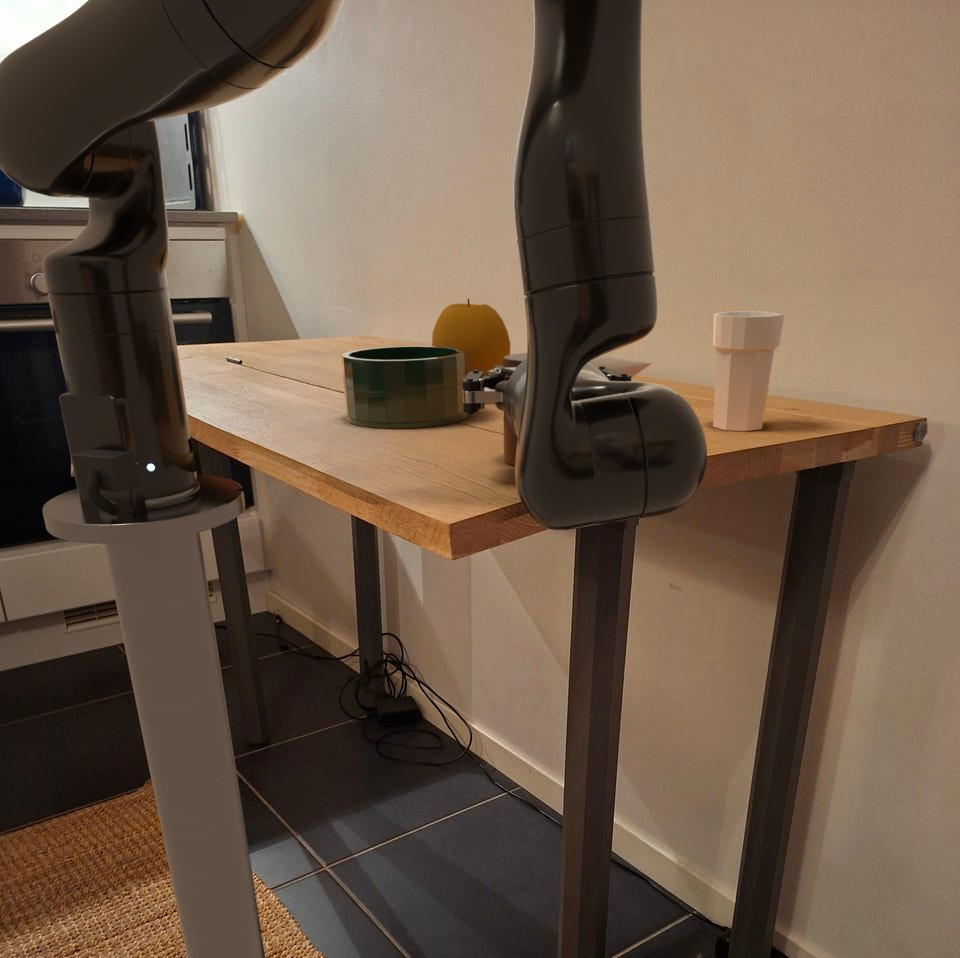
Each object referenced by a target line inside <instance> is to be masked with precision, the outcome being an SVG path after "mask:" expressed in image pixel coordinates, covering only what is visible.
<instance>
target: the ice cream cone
mask: <svg viewBox="0 0 960 958" xmlns="http://www.w3.org/2000/svg"><path fill="white" fill-rule="evenodd" d="M589 363H590V364H592V365H593V366H595V367H596V368H598V367H599V366H605V367H606V368H610V369H613V370H616V371H619V372H622V373H626V374H628V375H631V376H632V377H631V379H632V378H634V377H635V376H637V375H638V374H639V373H641V372H642V371H644V370H645V369H647V368H648V367H649V366H651V365H652V364H653V363H652V362H647V361H641V360H634V359H633V360H632V359H626V358H621V357H613V356H605V355H601V356H599V357H597V358H595V359H593V360H591V361H590V362H589Z"/></svg>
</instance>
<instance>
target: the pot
mask: <svg viewBox="0 0 960 958" xmlns="http://www.w3.org/2000/svg"><path fill="white" fill-rule="evenodd" d="M341 367H342V379H343V380H342V381H343V391H344V404H345V414H346V420H347V422H348V423H350V424H353V425H355V426H360V427H365V428H372V429H373V428H374V429H394V430H395V429H396V430H398V429H402V430H403V429H421V428H430V427H431V428H432V427H439V426H445V425H450V424H454V423H457V422H460V421H462V420H465V419H466V418H467V416H468V413H465V412H463V386H462V381H463V379H464V378H465V377H466V375H467V371H466V351H465V350H463V349H459V348H453V347H441V346H432V345H397V346H379V347H370V348H360V349H355V350H350V351H346V352H344V353H342V354H341Z"/></svg>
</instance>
